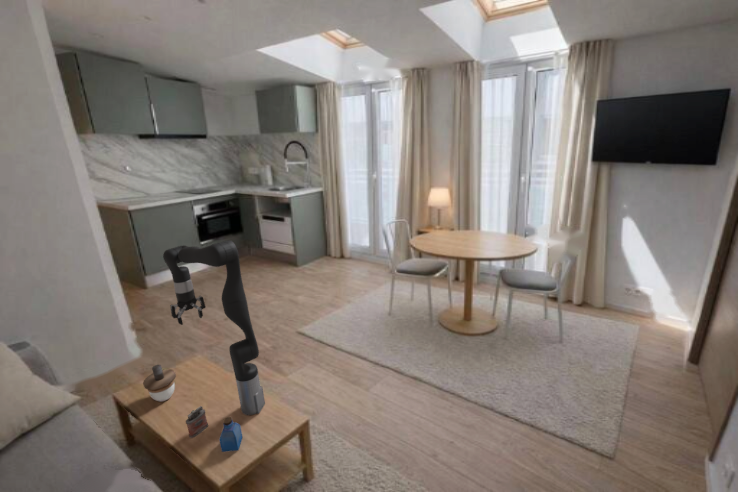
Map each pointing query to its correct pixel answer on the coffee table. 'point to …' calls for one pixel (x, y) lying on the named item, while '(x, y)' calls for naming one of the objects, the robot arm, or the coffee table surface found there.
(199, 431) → the lighter
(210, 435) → the coffee table surface
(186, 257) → the robot arm
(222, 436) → the perfume bottle
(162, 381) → the walnut lid
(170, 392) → the lidded jar
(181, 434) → the coffee table surface
